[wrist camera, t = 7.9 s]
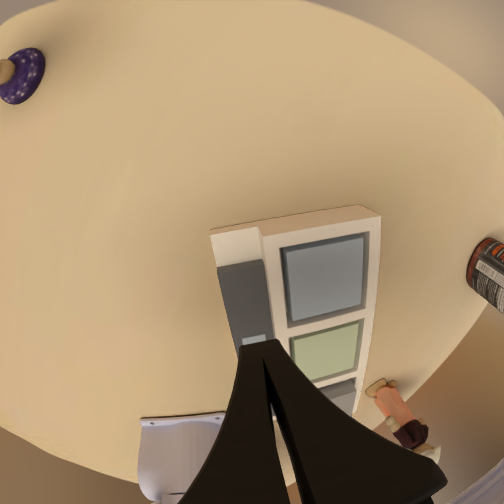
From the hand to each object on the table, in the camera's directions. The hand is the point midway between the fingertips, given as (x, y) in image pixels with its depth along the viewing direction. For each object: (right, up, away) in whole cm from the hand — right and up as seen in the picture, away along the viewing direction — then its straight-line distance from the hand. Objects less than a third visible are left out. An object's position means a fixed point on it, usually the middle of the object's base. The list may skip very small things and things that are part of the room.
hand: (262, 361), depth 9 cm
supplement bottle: (+24, +3, +13) cm, 27 cm away
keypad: (+3, -3, +12) cm, 13 cm away
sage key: (+5, -3, +11) cm, 12 cm away
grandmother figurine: (+15, -12, +18) cm, 26 cm away
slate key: (+4, +3, +8) cm, 10 cm away
